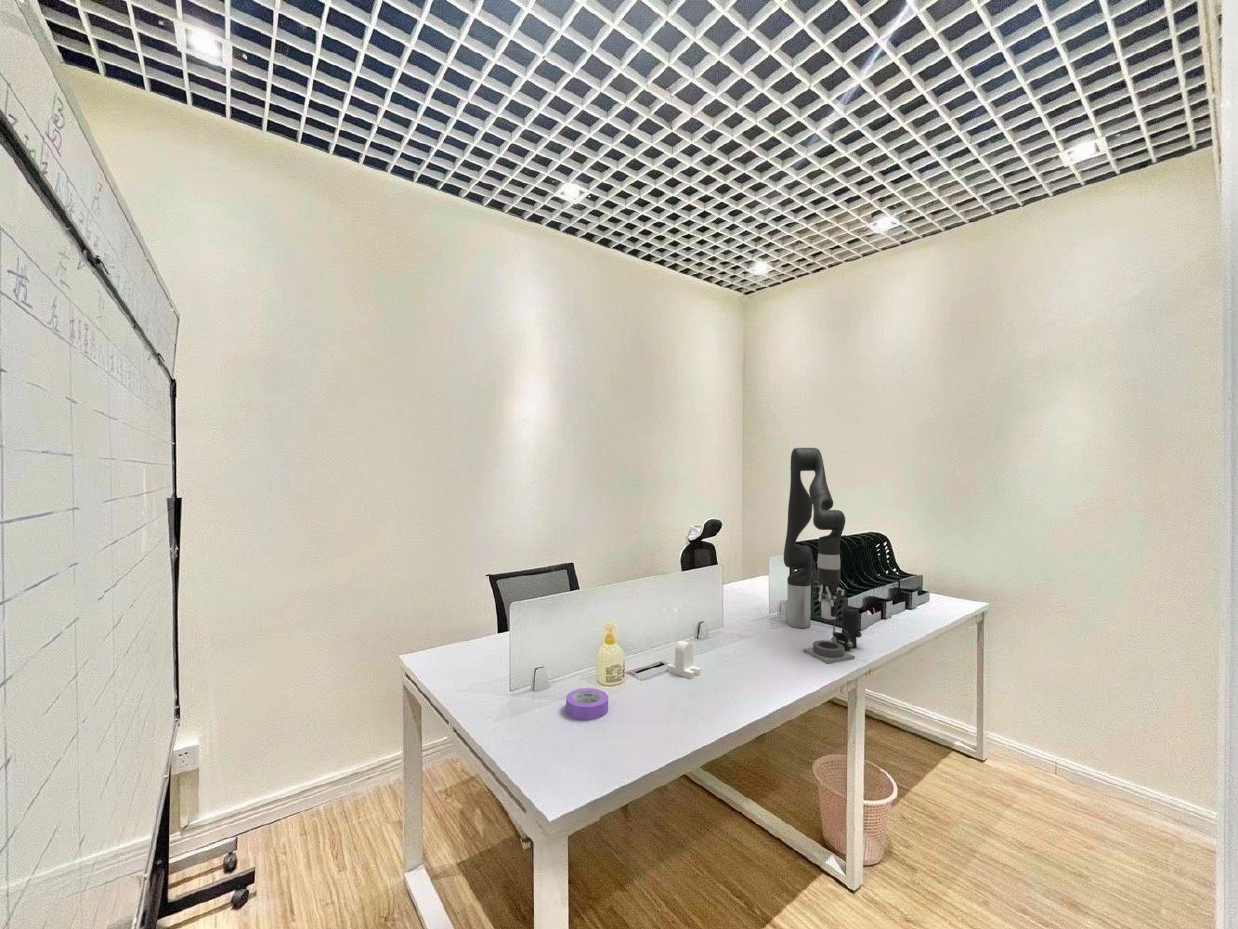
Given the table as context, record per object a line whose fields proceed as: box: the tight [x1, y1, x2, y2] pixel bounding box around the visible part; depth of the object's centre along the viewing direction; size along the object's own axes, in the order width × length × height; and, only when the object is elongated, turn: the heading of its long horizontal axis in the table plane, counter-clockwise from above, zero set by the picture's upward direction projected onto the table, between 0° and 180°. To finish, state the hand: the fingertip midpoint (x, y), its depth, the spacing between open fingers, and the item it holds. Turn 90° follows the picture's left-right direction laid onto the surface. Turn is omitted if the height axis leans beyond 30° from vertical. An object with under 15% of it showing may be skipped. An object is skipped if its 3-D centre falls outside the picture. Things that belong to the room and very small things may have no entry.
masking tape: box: [565, 687, 609, 721], centre depth 145 cm, size 12×12×4 cm
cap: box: [820, 597, 837, 620], centre depth 185 cm, size 5×5×6 cm
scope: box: [830, 606, 862, 652], centre depth 193 cm, size 8×14×10 cm
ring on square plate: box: [802, 639, 856, 665], centre depth 185 cm, size 12×12×4 cm
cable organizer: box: [667, 640, 701, 680], centre depth 170 cm, size 5×10×10 cm, turn 47°
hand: (828, 614), depth 185 cm, fingers closed on cap, 4 cm apart
